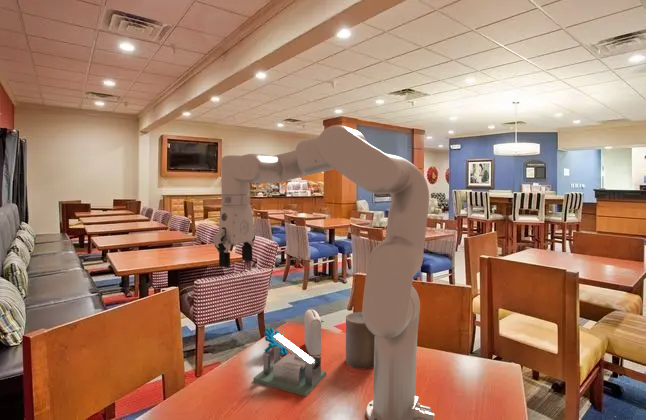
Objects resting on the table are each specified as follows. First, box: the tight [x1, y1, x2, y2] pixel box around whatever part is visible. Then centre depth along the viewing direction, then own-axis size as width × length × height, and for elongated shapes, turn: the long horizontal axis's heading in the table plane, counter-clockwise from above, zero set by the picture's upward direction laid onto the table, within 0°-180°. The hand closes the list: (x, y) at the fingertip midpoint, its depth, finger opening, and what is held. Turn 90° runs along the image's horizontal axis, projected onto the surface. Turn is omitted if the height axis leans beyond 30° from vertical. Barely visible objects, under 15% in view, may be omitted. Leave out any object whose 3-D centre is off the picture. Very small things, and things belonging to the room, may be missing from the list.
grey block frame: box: [262, 346, 322, 386], centre depth 105 cm, size 15×8×6 cm, turn 64°
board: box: [252, 361, 327, 397], centre depth 106 cm, size 16×12×1 cm
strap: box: [273, 332, 318, 367], centre depth 105 cm, size 14×3×1 cm, turn 66°
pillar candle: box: [345, 311, 375, 370], centre depth 115 cm, size 10×10×15 cm
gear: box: [263, 327, 289, 356], centre depth 122 cm, size 11×6×10 cm
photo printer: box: [304, 309, 322, 356], centre depth 124 cm, size 10×4×12 cm, turn 13°
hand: (236, 263), depth 106 cm, fingers open, 9 cm apart
